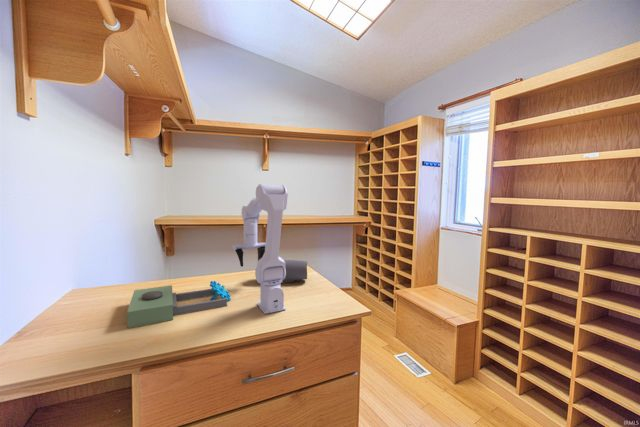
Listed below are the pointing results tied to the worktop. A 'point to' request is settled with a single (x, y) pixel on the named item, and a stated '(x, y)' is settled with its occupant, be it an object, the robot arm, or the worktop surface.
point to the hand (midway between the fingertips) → (250, 265)
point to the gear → (219, 291)
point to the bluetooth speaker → (295, 270)
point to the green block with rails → (165, 305)
